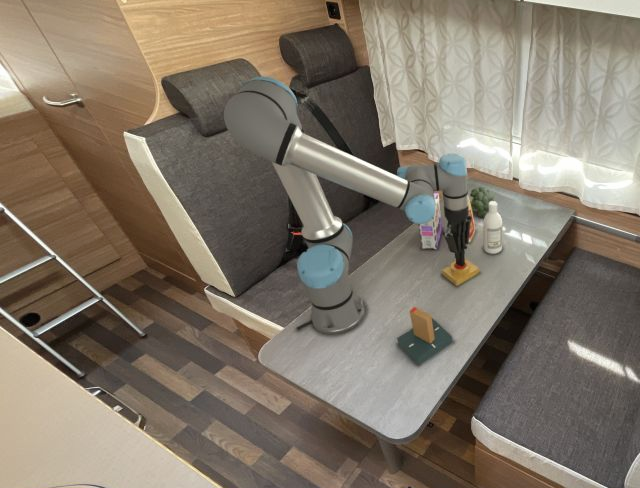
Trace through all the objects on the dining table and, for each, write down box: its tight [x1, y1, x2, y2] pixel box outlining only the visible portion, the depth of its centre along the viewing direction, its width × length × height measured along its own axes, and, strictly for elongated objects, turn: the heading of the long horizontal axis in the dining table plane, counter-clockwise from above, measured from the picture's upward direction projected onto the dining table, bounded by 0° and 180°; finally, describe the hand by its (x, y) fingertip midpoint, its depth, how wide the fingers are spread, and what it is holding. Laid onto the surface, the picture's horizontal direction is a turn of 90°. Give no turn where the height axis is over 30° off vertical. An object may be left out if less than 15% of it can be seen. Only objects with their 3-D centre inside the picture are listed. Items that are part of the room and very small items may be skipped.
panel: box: [396, 316, 453, 366], centre depth 116 cm, size 12×10×3 cm
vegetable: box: [469, 186, 495, 219], centre depth 167 cm, size 12×13×15 cm
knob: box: [409, 306, 435, 343], centre depth 112 cm, size 6×2×10 cm, turn 59°
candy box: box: [418, 192, 443, 250], centre depth 150 cm, size 14×6×16 cm, turn 179°
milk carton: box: [465, 195, 476, 244], centre depth 152 cm, size 9×9×20 cm
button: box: [455, 263, 466, 269], centre depth 139 cm, size 4×4×2 cm
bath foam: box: [482, 200, 504, 255], centre depth 146 cm, size 7×7×20 cm
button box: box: [441, 258, 480, 287], centre depth 140 cm, size 10×8×4 cm
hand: (460, 264), depth 138 cm, fingers closed
